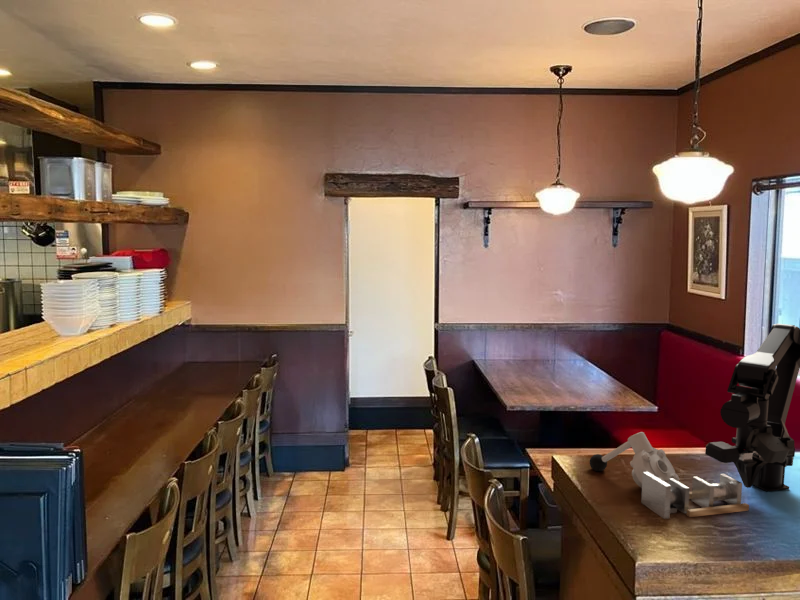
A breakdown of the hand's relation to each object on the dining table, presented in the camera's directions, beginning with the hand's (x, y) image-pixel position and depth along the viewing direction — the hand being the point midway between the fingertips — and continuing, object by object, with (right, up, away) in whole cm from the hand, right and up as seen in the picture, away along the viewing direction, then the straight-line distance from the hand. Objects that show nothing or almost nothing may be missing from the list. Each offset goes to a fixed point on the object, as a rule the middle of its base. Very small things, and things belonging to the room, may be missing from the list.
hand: (747, 487), depth 143 cm
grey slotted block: (-8, -3, -2) cm, 9 cm away
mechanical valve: (-23, -2, +11) cm, 25 cm away
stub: (-20, -3, -4) cm, 21 cm away
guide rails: (-10, -3, -2) cm, 11 cm away
